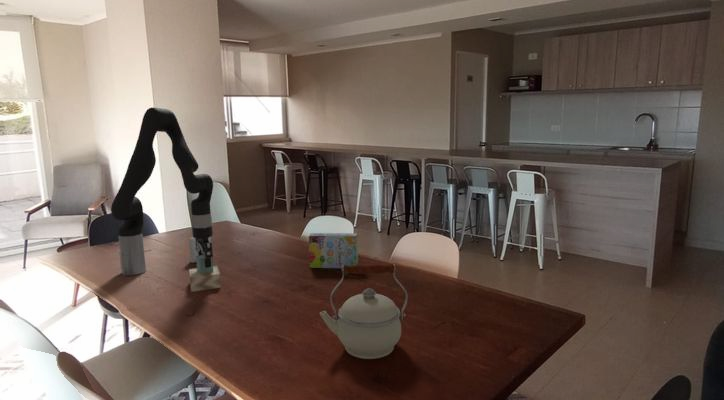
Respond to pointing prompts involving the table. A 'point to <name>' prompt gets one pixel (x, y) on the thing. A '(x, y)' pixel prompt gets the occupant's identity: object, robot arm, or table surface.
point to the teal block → (203, 265)
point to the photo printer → (194, 249)
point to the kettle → (367, 318)
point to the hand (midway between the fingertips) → (205, 264)
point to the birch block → (204, 279)
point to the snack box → (333, 250)
